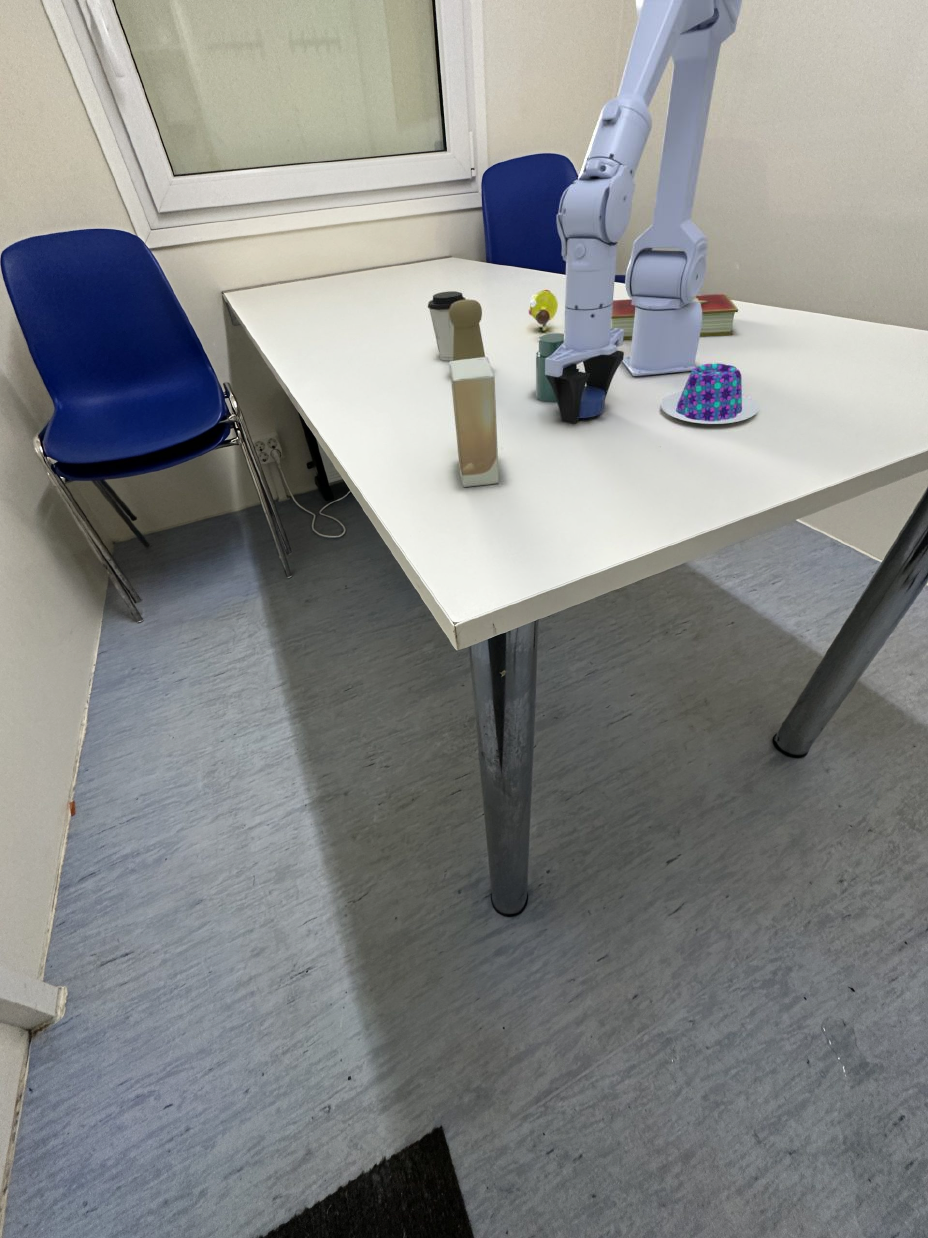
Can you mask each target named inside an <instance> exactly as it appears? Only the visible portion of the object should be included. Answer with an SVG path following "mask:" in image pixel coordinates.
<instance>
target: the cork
mask: <svg viewBox="0 0 928 1238" xmlns="http://www.w3.org/2000/svg"><path fill="white" fill-rule="evenodd" d="M465 299H466V300H460V301H457V302H454V303H453V304H452V305H451V307H450V309H449V318H450V321H451V323H452V324H453V325H454V339H453V360H452V361H457V360H464V359H473V358H481V357H486V354H485V348H484V342H483V337H482V330H481V326H480V323H481V321H482V317H483V309H482V306H481V303H480V302H479V301H478V300H475V299H468V298H465Z"/></svg>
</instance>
